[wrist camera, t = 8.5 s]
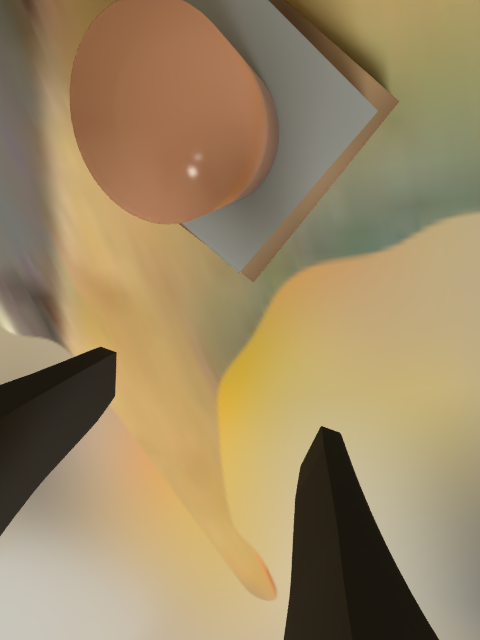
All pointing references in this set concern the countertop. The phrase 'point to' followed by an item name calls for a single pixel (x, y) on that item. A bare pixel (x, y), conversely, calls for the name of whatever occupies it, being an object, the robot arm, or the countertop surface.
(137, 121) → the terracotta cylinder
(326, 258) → the countertop surface
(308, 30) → the walnut slab
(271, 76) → the gray slab
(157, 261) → the countertop surface
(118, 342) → the countertop surface
